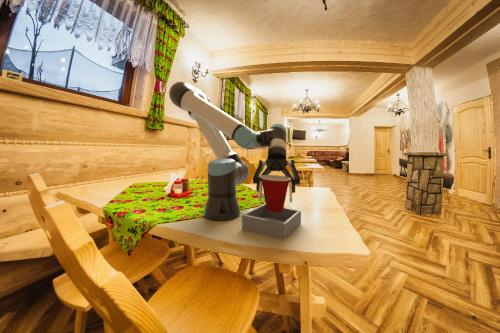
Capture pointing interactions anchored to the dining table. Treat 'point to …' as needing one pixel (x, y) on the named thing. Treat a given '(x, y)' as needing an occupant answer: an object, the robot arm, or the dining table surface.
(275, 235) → the bin
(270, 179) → the plastic cup
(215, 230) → the dining table surface
